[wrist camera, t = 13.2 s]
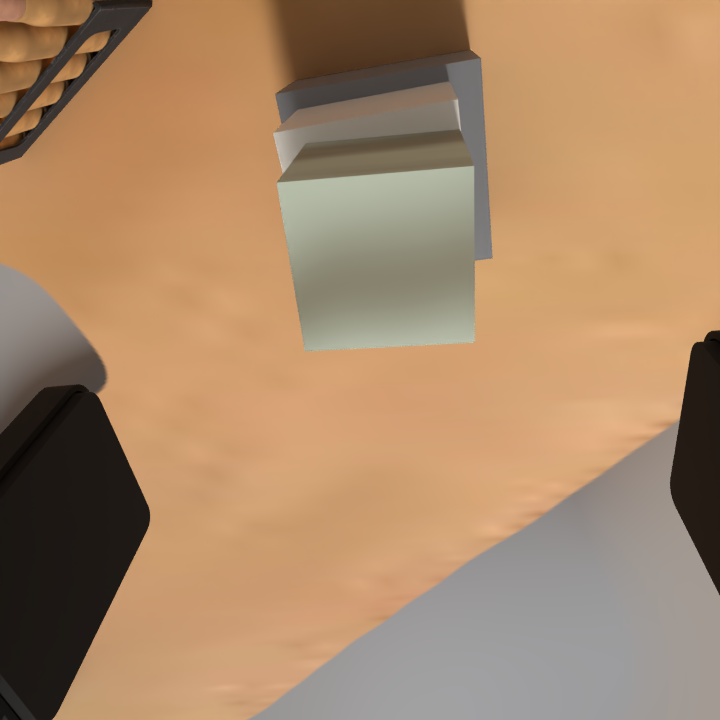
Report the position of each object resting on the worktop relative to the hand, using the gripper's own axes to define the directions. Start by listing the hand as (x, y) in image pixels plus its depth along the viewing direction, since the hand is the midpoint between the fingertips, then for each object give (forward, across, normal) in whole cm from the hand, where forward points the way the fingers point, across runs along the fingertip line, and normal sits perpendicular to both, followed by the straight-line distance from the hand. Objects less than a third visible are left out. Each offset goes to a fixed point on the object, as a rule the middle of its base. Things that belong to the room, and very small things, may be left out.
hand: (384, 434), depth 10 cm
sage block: (+13, 0, 0) cm, 13 cm away
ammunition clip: (+23, +15, -5) cm, 28 cm away
